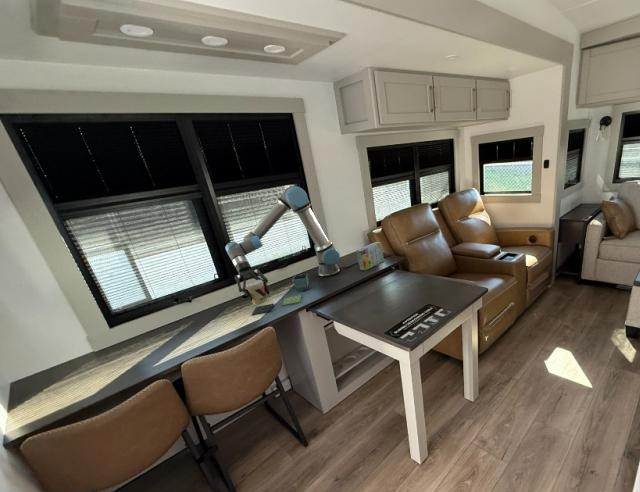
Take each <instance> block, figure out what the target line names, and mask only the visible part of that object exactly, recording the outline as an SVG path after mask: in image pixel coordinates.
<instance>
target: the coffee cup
mask: <svg viewBox="0 0 640 492" xmlns="http://www.w3.org/2000/svg"><path fill="white" fill-rule="evenodd" d="M262 280H263V279H262ZM262 280H256V279H253V280H251V281H249V282H246V289H247V290H248V291H249V293H250V295H251V297H252V301H251V302H252V304H253V306H254V305H255V306H260V305H263V304H265V303H267V302H268V295H267V293H266V291H265V288H264V284H263V281H262Z"/></svg>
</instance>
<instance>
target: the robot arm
mask: <svg viewBox="0 0 640 492" xmlns="http://www.w3.org/2000/svg"><path fill="white" fill-rule="evenodd" d="M311 204H312V203H311V202H310V200H309V198H308V194H307V192H306V191H305V190H304V189H303V188H302V187H300V186H294V185H293V186H291V185H290V186H288V187H286V188H285V189H284V191H283V193H282V194H281V195H280V196H279V198H277V202H276V203H275V204H273V206H272V208H270V209H269V211H268V212H267V213H266V214H265V215H264V216H263V217H262V218H261V219H260V221H258V222H257V224H256V225H255V226H253V228H251V230H250V231H249V232H248V233H247V234H246V235H244V237H243V240H242V241H241V242H239V243H238V242H236V241H232V242H228V243H227V244H226V245H225V247H224V248H225V251H226V253H227V255H228V257H229V258H230V260H231V262H232V264H233V266H234V267H235V269H236V271H237V274H238V275H234V280H235V281H236V284H237V289H238V292H239V293H243V294H244V295H245V297H248V299H249V300H250V302H252V297H251V295H250V293H249V291H248V290H247V288H246V284H247V280H250V279H253V280H262V281H263V284H264V288H265V292H266V295H267V296H268V295H270V290H269V285H268V283H269V279H268V278H267V276H266V275H264V274H263V273H262V272H261V271H260V268H256V269H253V267H252V265H251V264H250V263H249V261H248V259H247V257H246V255H249V254H250V253H253V252H254V251H256V250H259V249H260V248H262V247H263V246H264V244H263V242H262V241H261V240H262V239H263V238H264V236H266V234H267V233H268V232H269V231H270V230H271V229H272V228H273V227H274V226H275V224H277V222H279V220H280V219H281V218H282V217H283V216H284V215H285V214H286V213H287V212H288V211H291V210H292V212H293V213H294V214H297V216H298V217H299V219H300V221H301V223H302V224H303V226H304V228H305V229H306V231H307V232H308V235H309V236H310V238H311V240H312V241H313V244H314V245H313V246H314V247H313V248H314V251H315V255H316V260H317V262H318V271H317V272H318V273H317V274H318V276H319V277H321V278H328V277H333V276H335V275H338V274H339V273H340V272H341V270H340V269H348V268H350V267H353V266H355V265H359V263H358V262H355V263H353V264H351V265H348V266H341V267H339V265H338V263H339V261H340V257H341V256H340V251H338V250H337V248H336V247H335V245H334V243H333V242H332V241H331V240H329V239H328V237H327V235H326V234H325V232H324V230H323V229H322V227H321V225H320V223H319V221H318V219H317V217H316V215H315V214H314V212H313V211H312V209H311ZM390 256H392V253H390V254H387V255H385V256H383V257H384V259H385V258H388V257H390ZM240 279H243V282H242V285H241V281H240Z"/></svg>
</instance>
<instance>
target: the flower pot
mask: <svg viewBox="0 0 640 492" xmlns="http://www.w3.org/2000/svg"><path fill="white" fill-rule="evenodd" d="M291 281H292V283H293V286H294V288H295V290H297V291H298V292H304V291H308V288H309V282H310V281H309V274H308V273H303V274H297V275H294V276H293V277H292V280H291Z"/></svg>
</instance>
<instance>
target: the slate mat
mask: <svg viewBox="0 0 640 492" xmlns="http://www.w3.org/2000/svg"><path fill="white" fill-rule="evenodd" d="M274 305H275V304H274V303H269V304H264V305H263V304H262V305H257V306H256V307H255V308H254V310H253V312H252V313H251V316H257V315H263V314H267V313H271V311H272V309H273V307H274Z"/></svg>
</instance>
